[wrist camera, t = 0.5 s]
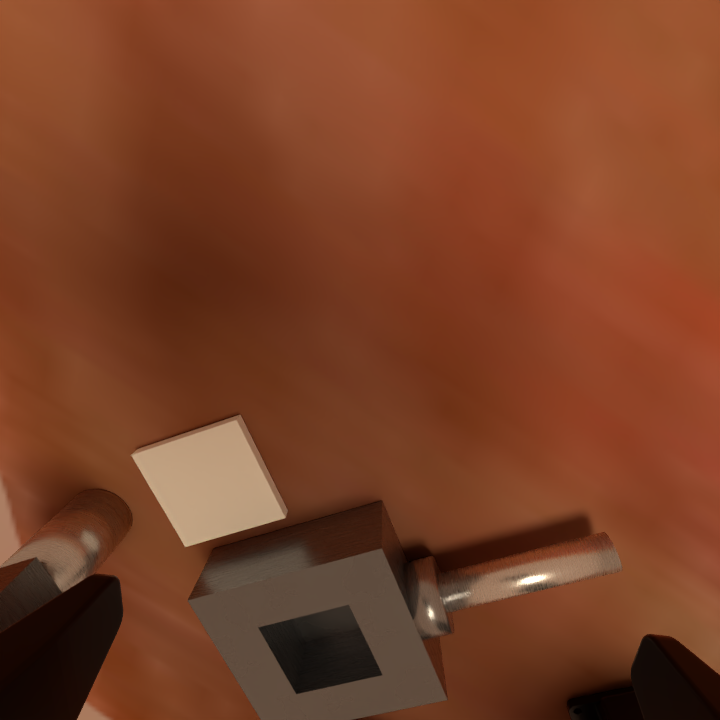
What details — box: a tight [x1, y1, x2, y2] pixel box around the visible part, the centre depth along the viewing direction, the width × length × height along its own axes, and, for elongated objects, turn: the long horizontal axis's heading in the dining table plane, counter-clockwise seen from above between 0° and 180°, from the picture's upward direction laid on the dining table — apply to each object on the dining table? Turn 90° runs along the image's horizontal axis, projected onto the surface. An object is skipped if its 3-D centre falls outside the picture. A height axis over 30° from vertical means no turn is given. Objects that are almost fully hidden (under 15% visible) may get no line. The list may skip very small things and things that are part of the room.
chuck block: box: [188, 501, 622, 720], centre depth 23 cm, size 10×20×4 cm, turn 111°
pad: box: [131, 415, 288, 547], centre depth 23 cm, size 6×6×1 cm
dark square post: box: [0, 489, 132, 632], centre depth 20 cm, size 3×3×10 cm
